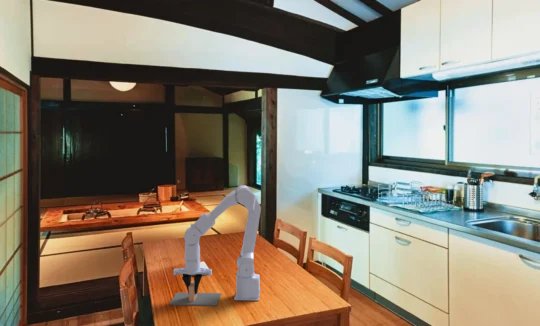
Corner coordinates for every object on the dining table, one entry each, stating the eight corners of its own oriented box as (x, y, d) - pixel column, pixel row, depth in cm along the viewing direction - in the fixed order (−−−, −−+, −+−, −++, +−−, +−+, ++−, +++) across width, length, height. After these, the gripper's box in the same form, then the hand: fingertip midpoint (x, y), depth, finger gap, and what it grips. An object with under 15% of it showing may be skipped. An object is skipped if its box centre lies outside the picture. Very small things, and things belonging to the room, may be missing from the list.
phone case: (212, 275, 167) (204, 264, 181) (212, 272, 167) (204, 260, 181) (193, 278, 163) (186, 266, 178) (193, 275, 163) (186, 263, 178)
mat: (221, 294, 146) (221, 293, 146) (216, 305, 136) (216, 304, 136) (176, 293, 146) (176, 292, 146) (169, 305, 136) (169, 303, 136)
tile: (197, 296, 143) (196, 281, 143) (194, 301, 138) (193, 286, 138) (192, 295, 143) (191, 281, 143) (188, 301, 138) (188, 286, 138)
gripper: (213, 255, 143) (213, 288, 144) (176, 254, 144) (177, 288, 145) (209, 261, 136) (210, 296, 137) (171, 261, 137) (172, 295, 138)
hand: (193, 292), depth 140 cm, fingers closed on tile, 2 cm apart
